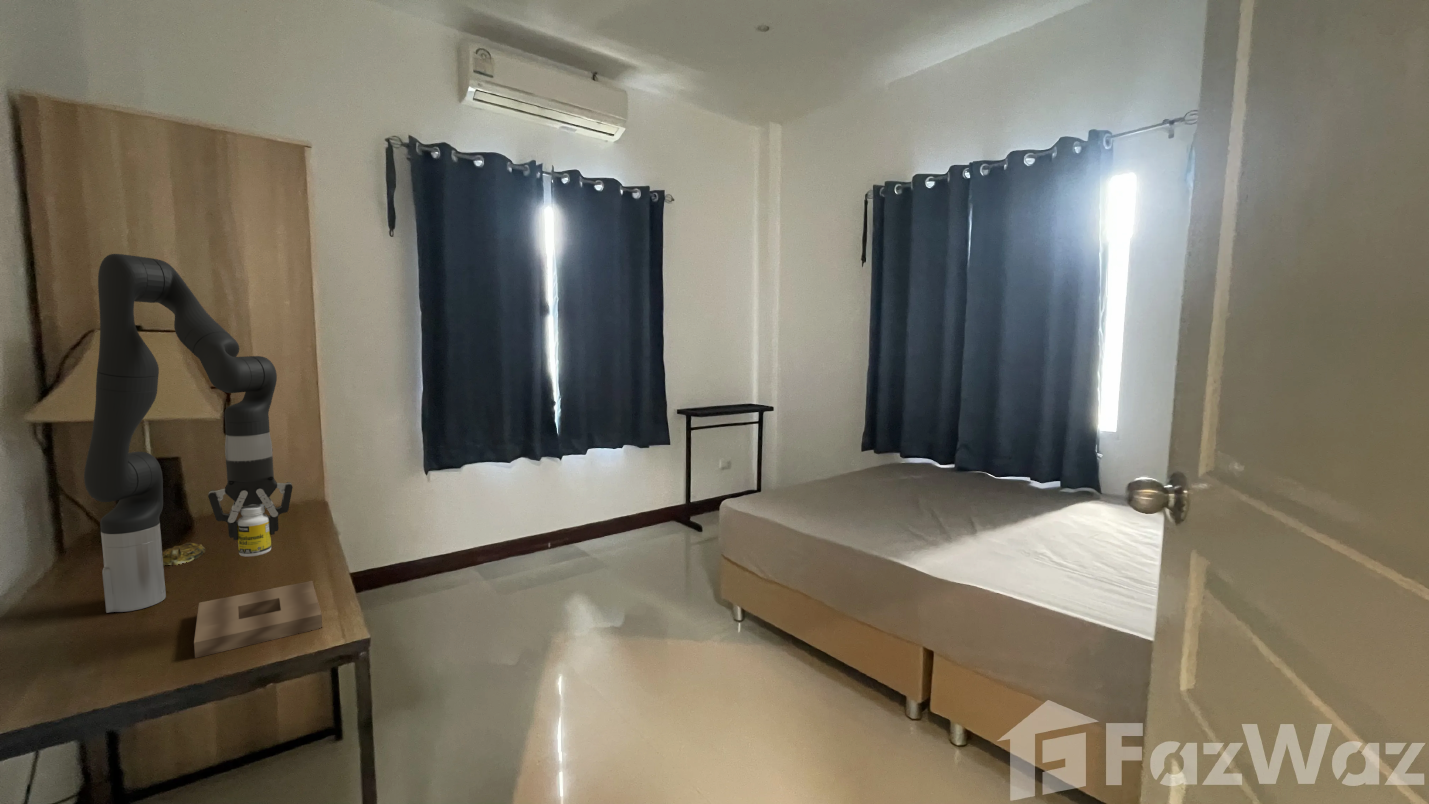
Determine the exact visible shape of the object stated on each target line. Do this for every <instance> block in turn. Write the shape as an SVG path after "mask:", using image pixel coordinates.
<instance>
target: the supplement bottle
mask: <svg viewBox="0 0 1429 804" xmlns="http://www.w3.org/2000/svg"><path fill="white" fill-rule="evenodd" d="M265 512H266V507H265V506H264V504H263V503H262V504H259V505H256V504H252V505H249V506H242V507H241V509H240V512H239V513H240V515H241V516H240V517H239V518H238V519H237V532H238V540H237V545H238V555H240V556H241V557H257V556H262V555H265V554H267V553H269V552H270V551H271V550H272V537H271V536H272V535H271V532H270V518H269V515H268V514H266V513H265Z"/></svg>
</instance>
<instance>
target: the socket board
mask: <svg viewBox="0 0 1429 804" xmlns="http://www.w3.org/2000/svg"><path fill="white" fill-rule="evenodd" d="M321 627H322V628H323V614H322V611H321V606H320V604H319V599H318V596H317V592H316V590H315V587H314V581H313V580H309V581H305V582H299V583H294V584H293V583H292V584H288V585H284V586H278V587H273V588H268V589H264V590H262V589H261V590H257V591H252V592H247V593H242V594H236V595H231V596H227V597H221V598H216V599H211V600H207V601H202V602H201V601H200V602H199V603H198V608H197V615H196V623H195V632H194V640H193V646H194V658H195V659H197V658H201V657H205V656H209V655H213V654H214V655H215V654H218V653H222V652H225V651H226V652H227V651H230V650H231V651H232V650H235V649H239V648H243V647H248V646H252V645H256V644H260V643H264V642H269V641H273V640H277V639H281V638H285V637H286V638H287V637H290V636H294V635H299V634H302V633H306V632H311V630H312V631H315V630H316V631H317V630H320V629H322V628H321ZM319 628H320V629H319ZM298 633H299V634H298Z"/></svg>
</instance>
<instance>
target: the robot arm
mask: <svg viewBox="0 0 1429 804" xmlns="http://www.w3.org/2000/svg"><path fill="white" fill-rule="evenodd" d="M97 287H98V288H97V289H98V291H97V293H98V304H99V307H98V308H99V328H100V329H99V331H100V332H99V348H98V361H97V368H96V380H95V407H94V415H93V424H92V433H91V438H90V442H89V448H88V451H87V457H86V461H85V465H84V470H83V471H84V473H83V480H84V486H85V490H86V491H87V493H88V495H89V496H90V497H91V498H93V499H94V500H95V501H98V502H100V503H110V502H115V501H116V502H117V501H118V502H117V503H116V505H115V506H114V507H113V508H112V509H111V510H110V511H108V512H107V513H106V514H105V515H104V516H102V518H100V522H99V525H100V536H101V546H102V557H103V568H102V571H101V572H102V582H103V593H104V602H105V612H106V614H107V613H114V612H115V613H123V612H132V611H137V610H142V609H145V608H149V607H152V606H154V605H156V604H160V603H161V602H162V601H163V600H165V599H166V598H167V594H166V590H167V589H166V585H165V584H166V583H165V570H164V569H165V567H164V565H163V556H162V553H163V546H162V545H163V544H162V534H161V522H160V516H161V514H162V511H163V507H164V486H163V485H164V479H163V471H162V468H161V467H162V466H161V465H160V463H159V461H158V459H157V458H156V457H155V456H154V455H152V454H151V453H149V452H145V451H133V452H130V446H131V441H132V438H133V435H134V433H135V431H136V430H137V428H138V427H139V425H140V424H141V422H142V421H143V420H144V418H145V417H146V415H147V414H148V412H149V411H150V410H151V408H152V406H153V404H154V403H155V401H156V398H157V394H158V387H159V385H158V384H159V373H160V369H159V368H160V367H159V364H158V362H157V359H156V357H155V356H154V354H153V352H152V351H151V350H150V348H149V346H147V344H146V343H145V341H144V340H143V338H142V336H141V335H140V333H139V331H138V329H137V327H136V324H135V312H134V311H135V309H134V308H135V303H136V302H137V303H149V304H150V303H151V304H152V303H153V304H154V303H155V304H157V303H158V304H160V305H162V306H164V308H166V309H168V310H169V311H170V312H172V314H173V315H174V320H173V321H174V326H173V327H174V331H175V334H176V336H177V338H178V340H179V341H180V343H182V344H183V346H185V347H186V349H188V350H189V352H191V354H193V355H194V356H195V357H196V358H197V359H198V360H199V361H200V362H201V366H202V367H203V369H204V371H205V373H206V375H207V378H208V380H209V382H211V384H212V386H213V387H215V388H216V389H217V390H219V391H222V392H224V393H228V394H236V393H244V396H243V398H242V399H241V400H240V401H239V402H237V403H234V404H231V405H229V406H227V407H226V409H225V410H224V425H225V427H224V428H225V444H224V449H225V450H224V451H225V452H224V455H225V467H226V481H227V483H226V485H225V487H224V488H221V489H219V490H215V489H211V490H210V491H209V492H208V494H207V497H208V500H209V503H210V506H211V508H212V511H213V514H214V517H215V520H216V521H217V522H224V523H225V522H226V523H227V529H228V537H229V538H230V539H232V538H233V541H238V532H237V521H238V519H237V517H238V516H239V513H240V509H241V507H242V506H249V505H252V504H256V505H259V504H264V506H265V510H267V511H268V513H269V514H270V515H268V516H269V518H270V532H271V536H272V535H275V534H276V532H278V530H279V528H280V527H279V516H280V515H282V514H284V513H288V512H289V508H290V504H291V498H292V494H293V493H292V492H293V489H294V488H293V487H294V486H293V484H292V482H291V481H287V482H286V483H284V482H277V481H276V479H275V474H274V459H273V458H274V457H273V451H274V450H273V443H272V438H271V433H270V430H271V429H270V417H269V415H270V414H269V413H270V412H269V411H270V409H271V406H272V401H273V397H274V393H275V390H276V385H277V377H278V375H277V370H276V368H275V366H274V364H273V362H272V361H271V360H270V359H269V358H267V357H265V356H260V355H252V356H251V355H249V356H248V355H247V356H239V353H240V345H239V342H238V341H237V340H236V339H235V338H234V336H232V335H231V334H230V333H229V332H227V330H225V329H224V328H223V326H221V325H220V324H219V323H218V322H217V321H216V320H215V319H213V318H212V317H211V316H210V314H209V313H208V312H207V311H206V310H205V309H204V307H203V306H202V304H201V303H200V301H199V300H198V298H197V297H196V295H194V293H193V291H192V290H191V288H189V286H188V285H187V283H186V282H185V281H184V279H183V278H182V276H181V275H180V274H179V273H178V272H177V270H176V269H175V268H174V267H173V266H172V265H171V264H170V263H168V262H166V261H164V260H161V259H157V258H153V257H152V258H151V257H146V256H145V257H144V256H137V255H131V254H122V253H111V254H108V255H106V256H105V257H104V258H103V259H102V261H101V263H100V265H99V269H98V277H97ZM277 489H278V490H279V493H280V494H282V498H281V504H280V506H277V507H276V505H275V504H274V502H273V501H272V499H271V496H272V495H273V494H274V492H275V491H276V490H277ZM225 495H226V496H228V497H229V498H230V499H231V500H233V504H232V506H231V509H230V511H229V513H225V512H224V510H223V508H222V505H221V501H223V499H224V496H225Z"/></svg>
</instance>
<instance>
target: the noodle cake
mask: <svg viewBox="0 0 1429 804" xmlns="http://www.w3.org/2000/svg"><path fill="white" fill-rule="evenodd" d="M203 553H204V554H205V553H206V548H205V547H204V546H203V545H202V544H198V543H196V542H195V543H194V542H186V543H183V544H181V545H174V546H173V547H171V548H167V549H165V551H162V556H163V566H165V565H176V566H179V565H178V564H180V565H183V564H182V563H184V564H186V562H187V563H190V562H192V561H194V559H195V560H196V559H199V558H201V557H202V555H203Z"/></svg>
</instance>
